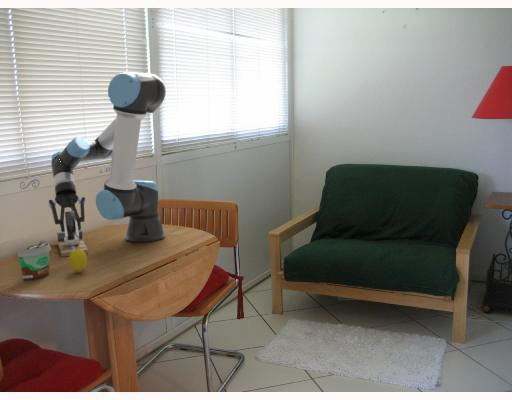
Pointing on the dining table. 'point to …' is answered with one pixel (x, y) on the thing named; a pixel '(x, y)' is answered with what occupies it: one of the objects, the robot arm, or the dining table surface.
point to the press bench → (68, 249)
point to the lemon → (78, 260)
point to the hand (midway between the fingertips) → (72, 237)
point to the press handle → (71, 229)
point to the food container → (35, 261)
